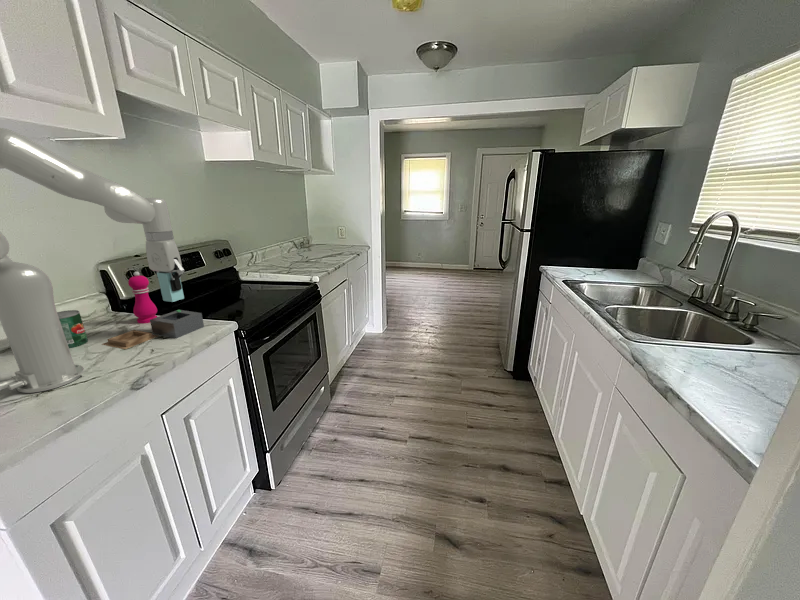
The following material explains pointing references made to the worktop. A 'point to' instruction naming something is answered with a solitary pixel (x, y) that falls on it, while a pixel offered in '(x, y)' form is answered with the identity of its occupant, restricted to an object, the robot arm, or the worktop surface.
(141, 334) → the square wooden tray
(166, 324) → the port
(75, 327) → the canned tomato
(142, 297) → the pepper mill
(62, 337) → the robot arm
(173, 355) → the worktop surface
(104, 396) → the worktop surface
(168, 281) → the plug
